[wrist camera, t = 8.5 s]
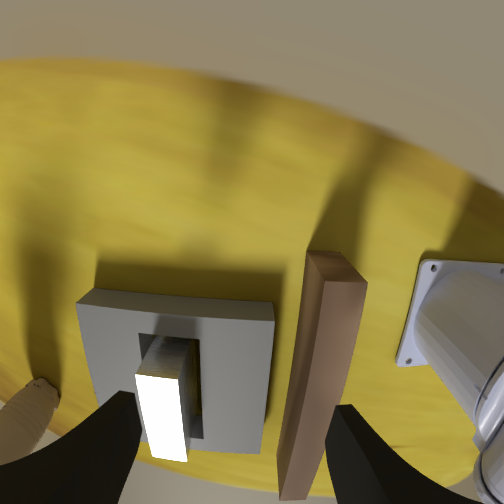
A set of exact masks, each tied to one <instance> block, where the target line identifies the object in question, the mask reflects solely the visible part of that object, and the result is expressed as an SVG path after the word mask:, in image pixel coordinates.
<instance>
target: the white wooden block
mask: <svg viewBox="0 0 504 504" xmlns="http://www.w3.org/2000/svg"><path fill="white" fill-rule="evenodd" d="M135 376H136V381H137V387H138V392H139V398H140V403H141V408H142V412H143V417H144V422H145V426H146V431H147V435H148V439H149V443H150V447H151V451H152V455H153V457H159V458H165V459H171V460H178V461H186V462H187V458H188V453H189V448H190V443H191V439H192V434H193V429H194V424H195V419H196V414H197V409H198V399H197V379H196V354H195V339H191V338H181V337H171V336H161V335H156V336H155V338H154V340H153V341H152V343H151V345H150V347H149V349H148V351H147V353H146V355H145V357H144V358H143V360H142V362H141V364H140V366H139V368H138V370H137V372H136V374H135Z"/></svg>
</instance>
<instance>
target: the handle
mask: <svg viewBox="0 0 504 504" xmlns="http://www.w3.org/2000/svg"><path fill="white" fill-rule="evenodd" d="M59 403H60V399H59V398H58V391H57V390H56V388H54V387H52V386H51V385H50V384H49V383H48V382H47V381H46V380H45V379H43V378H39V379H38V380H35V379H34V380H31V381H30V382H29V383H28V384H27V385H26V386H25V387H24V388H23V389H21V390H20V391H19V392H18V393H16V394H15V395H14V396H13V397H12V398H11V399H10V400H9V401H8V402H7V403H6V404H5V405H4V407H3V408H2V409H1V410H0V465H3V464H6V463H10V462H13V461H15V460H18V459H21V458H23V457H25V456H28V455H30V454H31V452H32V451H33V450H34V448H35V446H37V444H38V442H39V441H40V439H41V438H42V436H43V434H44V433H45V431H46V429H47V427H48V425H49V423H50V421H51V419H52V416H53V413H54V411H56V410H57V408H58V406H59Z"/></svg>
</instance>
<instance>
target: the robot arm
mask: <svg viewBox="0 0 504 504" xmlns="http://www.w3.org/2000/svg"><path fill="white" fill-rule="evenodd" d="M432 265H434V269H433V270H431V267H432ZM501 269H502V270H501ZM409 358H410V359H409ZM407 359H409V360H408V361H407ZM395 362H396V364H397V366H398V367H407V366H418V365H427V364H430V366H431V367H432V368H433V370H434V371H435V372H436V374H437V375H438V376H439V377H440V379H441V380H442V381H443V383H444V384H445V385H446V387H447V388H448V389H449V391H450V392H451V393H452V395H453V396H454V397H455V399H456V400H457V402H458V403H459V404H460V406H461V407H462V408H463V410H464V411H465V413H466V414H467V415H468V417H469V418H470V420H471V421H472V422H473V424H474V425H475V426H476V433H475V435H474V437H473V439H472V440H473V442H474V443H475V445H476V446H477V448H478V450H479V451H480V454H479V455H478V457H477V459H476V462H475V465H474V470H473V479H474V485H475V488H476V491H477V493H478V495H479V497H480V499H481V500H482V501H483V503H481V502H478V501H474V500H471V499H468V498H466V497H464V496H461V495H459V494H456V493H454V492H452V491H450V490H448V489H446V488H444V487H443V486H441V485H439V484H437V483H436V482H434V481H432V480H431V479H429V478H427V477H426V476H424V475H423V474H422V473H420V472H419V471H417V470H416V469H415V468H413V467H412V466H411V465H409V464H408V463H407V462H406V461H405V460H403V459H402V458H401V457H400V456H399V455H398V454H397V453H396V452H395V451H394V450H393V449H392V448H390V447H389V446H388V445H387V443H386V442H385V441H384V440H383V439H382V438H381V437H380V436H379V435H378V434H377V433H376V432H375V431H374V430H373V429H372V427H371V426H370V425H369V424H368V423H367V422H366V421H365V419H364V418H363V417H362V416H361V415H360V413H359V412H358V411H357V410H356V409H355V408H354V406H353V405H352V404H348V405H335V409H334V412H333V416H332V419H331V422H330V425H329V429H328V432H327V435H326V438H325V449H326V457H327V464H328V468H329V472H330V476H331V480H332V484H333V488H334V492H335V495H336V499H337V503H338V504H504V264H502V263H486V262H471V261H455V260H439V259H424V260H423V261H422V262H421V263H420V266H419V270H418V275H417V280H416V285H415V289H414V294H413V298H412V302H411V306H410V310H409V314H408V318H407V322H406V325H405V329H404V333H403V336H402V340H401V343H400V347H399V350H398V353H397V356H396V360H395ZM142 430H143V429H142V425H141V420H140V416H139V412H138V407H137V402H136V397H135V393H132V392H127V391H121V390H119V391H118V392H117V393H115V394H114V395H113V396H112V397H111V398H110V399H108V400H107V401H106V402H105V403H104V404H103V405H102V406H101V407H99V408H98V409H97V410H96V411H95V412H94V413H92V414H91V415H90V416H89V417H88V418H86V419H85V420H84V421H83V422H81V423H80V424H79V425H78V426H76V427H75V428H74V429H72V430H71V431H69V432H68V433H67V434H65V435H64V436H62V437H61V438H59V439H58V440H56V441H55V442H53V443H51V444H50V445H48V446H46V447H44V448H42V449H41V450H39V451H37V452H34V453H32V454H30V455H28V456H25V457H23V458H21V459H18V460H15V461H13V462H10V463H6V464H3V465H0V504H118V501H119V498H120V495H121V492H122V490H123V487H124V485H125V482H126V480H127V477H128V474H129V472H130V469H131V467H132V464H133V462H134V459H135V457H136V454H137V451H138V447H139V443H140V439H141V435H142Z"/></svg>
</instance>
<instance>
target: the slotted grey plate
mask: <svg viewBox="0 0 504 504" xmlns="http://www.w3.org/2000/svg"><path fill="white" fill-rule="evenodd" d="M76 309H77V315H78V320H79V326H80V331H81V336H82V341H83V346H84V350H85V355H86V359H87V363H88V367H89V371H90V375H91V379H92V383H93V387H94V390H95V394H96V397H97V401H98V404H99V407H101V406H102V405H103V404H104V403H105V402H106V401H107V400H108V399H110V398H111V397H112V396H113V395H114V394H115V393H117V392H118V391H119V390H121V391H127V392H132V393H135V397H136V402H137V407H138V412H139V416H140V420H141V425H142V429H143V430H142V435H141V439H140V441H142V442H147V443H149V439H148V435H147V431H146V426H145V422H144V417H143V412H142V408H141V403H140V398H139V392H138V387H137V381H136V376H135V374H136V372H137V370H138V368H139V366H140V364H141V362H142V360H143V358H144V357H145V355H146V353H147V351H148V349H149V347H150V345H151V343H152V341H153V338H152V334H153V335H161V336H171V337H181V338H191V339H200V368H201V394H202V415H203V416H202V415H196V419H195V424H194V429H193V434H192V439H191V443H190V448H189V449H194V450H203V451H214V452H226V453H244V454H260V448H261V440H262V433H263V425H264V416H265V408H266V400H267V391H268V382H269V374H270V364H271V355H272V346H273V336H274V326H275V318H274V310H273V303H272V302H262V301H243V300H226V299H211V298H197V297H184V296H171V295H160V294H149V293H138V292H128V291H118V290H108V289H99V288H93V289H91V290H90V291H89V292H88V293H87V294H85V295H84V296H83V297H82V298H81V299H80V300H79V301H77V302H76Z"/></svg>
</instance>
